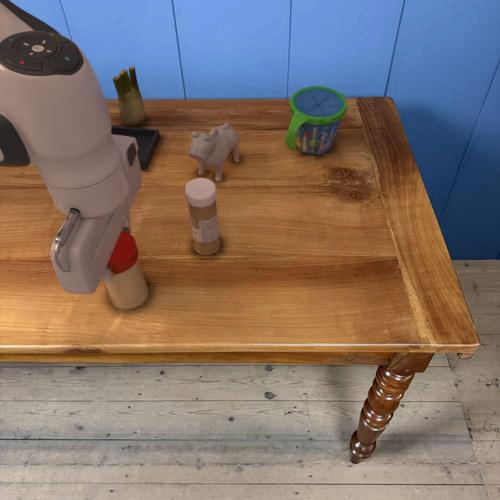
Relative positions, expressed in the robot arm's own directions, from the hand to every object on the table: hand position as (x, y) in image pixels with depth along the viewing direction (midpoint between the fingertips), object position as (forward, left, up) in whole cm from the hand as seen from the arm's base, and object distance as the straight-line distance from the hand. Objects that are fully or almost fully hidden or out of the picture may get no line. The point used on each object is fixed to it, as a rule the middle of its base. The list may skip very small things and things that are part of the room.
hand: (116, 255), depth 64 cm
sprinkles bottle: (+10, +11, -10) cm, 17 cm away
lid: (0, 0, +2) cm, 2 cm away
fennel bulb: (-12, +42, -10) cm, 45 cm away
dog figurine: (+8, +30, -10) cm, 32 cm away
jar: (0, 0, -9) cm, 9 cm away
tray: (-14, +33, -9) cm, 37 cm away
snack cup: (+26, +40, -10) cm, 48 cm away
